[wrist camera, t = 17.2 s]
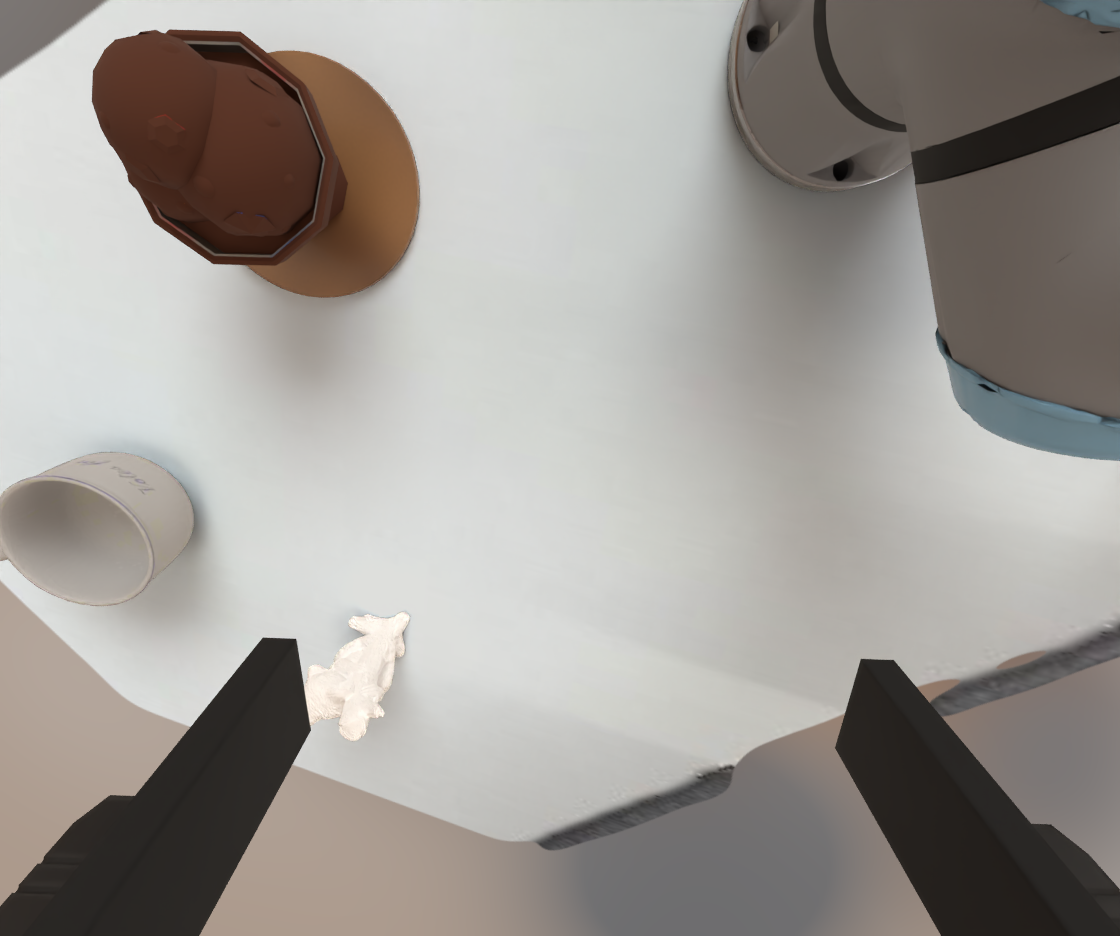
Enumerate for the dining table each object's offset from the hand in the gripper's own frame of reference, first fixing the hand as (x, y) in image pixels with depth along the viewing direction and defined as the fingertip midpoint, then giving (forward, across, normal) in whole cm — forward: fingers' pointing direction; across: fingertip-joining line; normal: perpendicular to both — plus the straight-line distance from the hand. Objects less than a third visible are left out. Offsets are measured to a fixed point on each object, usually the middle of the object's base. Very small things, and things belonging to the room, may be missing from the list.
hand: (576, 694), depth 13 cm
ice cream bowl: (+31, -18, +14) cm, 39 cm away
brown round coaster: (+32, -18, +14) cm, 39 cm away
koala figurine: (+32, -16, -23) cm, 43 cm away
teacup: (+32, -37, -11) cm, 50 cm away
